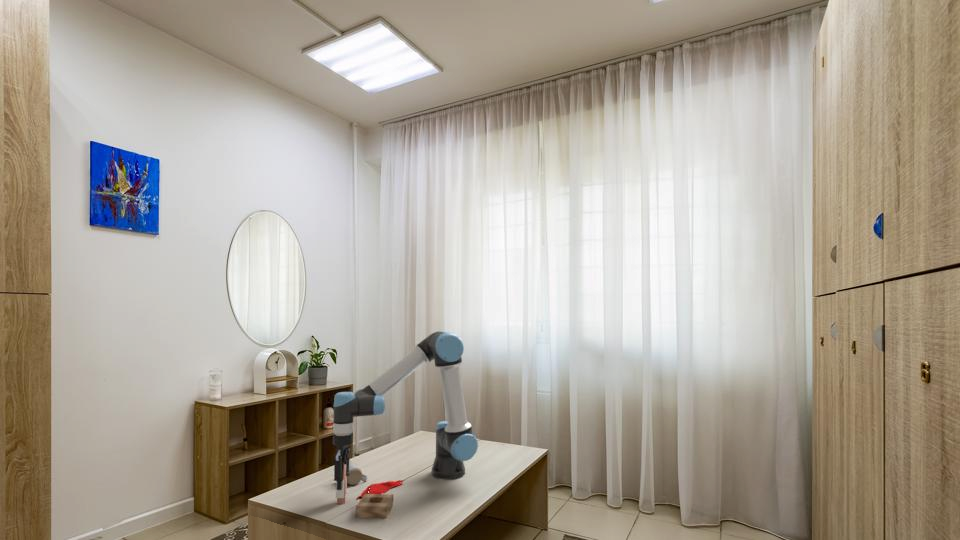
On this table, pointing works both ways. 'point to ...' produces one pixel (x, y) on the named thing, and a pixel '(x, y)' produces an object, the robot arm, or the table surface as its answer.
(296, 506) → the table surface
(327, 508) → the table surface
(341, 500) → the dowel
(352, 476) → the ceramic mug
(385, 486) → the cloth
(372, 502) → the square frame
